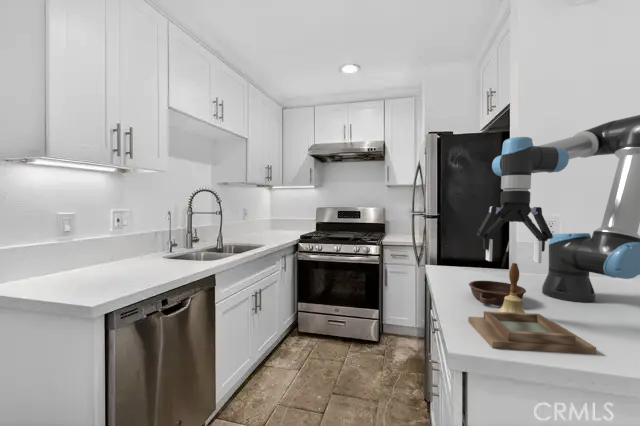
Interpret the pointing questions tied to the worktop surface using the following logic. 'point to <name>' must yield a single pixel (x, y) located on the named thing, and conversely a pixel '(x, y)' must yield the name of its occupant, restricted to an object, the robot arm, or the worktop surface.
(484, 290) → the dish
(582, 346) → the walnut stand
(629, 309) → the worktop surface
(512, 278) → the hand bell
